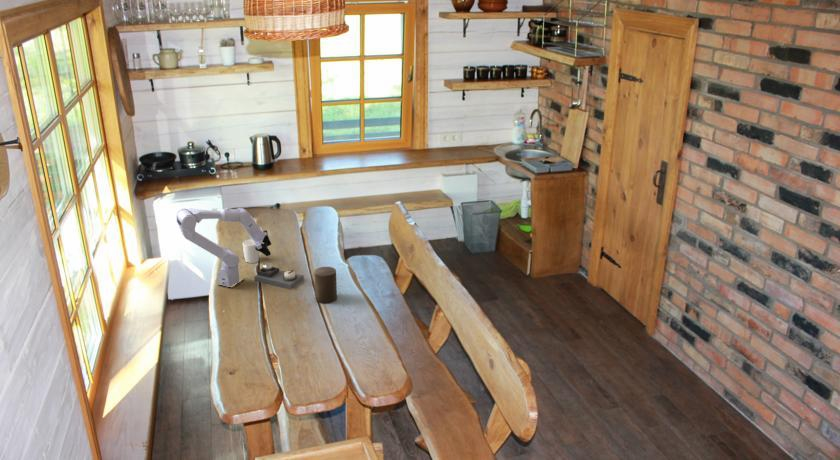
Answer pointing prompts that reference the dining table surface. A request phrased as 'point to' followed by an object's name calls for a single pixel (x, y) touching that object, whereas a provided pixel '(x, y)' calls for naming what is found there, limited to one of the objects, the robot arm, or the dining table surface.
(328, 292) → the pillar candle
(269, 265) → the press knob
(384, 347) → the dining table surface
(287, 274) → the dial knob
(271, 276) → the console
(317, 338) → the dining table surface
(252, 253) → the white cup
